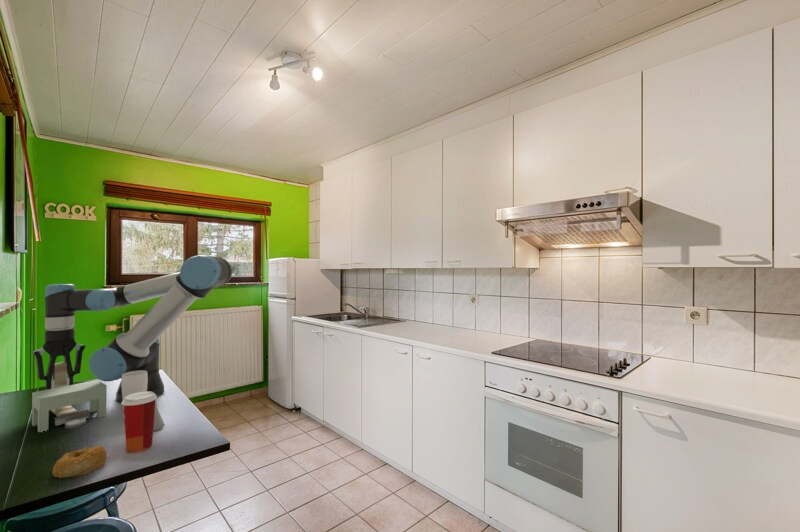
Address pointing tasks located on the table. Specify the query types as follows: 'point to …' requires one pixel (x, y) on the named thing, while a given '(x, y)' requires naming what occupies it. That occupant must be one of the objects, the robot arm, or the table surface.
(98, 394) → the white bridge stand
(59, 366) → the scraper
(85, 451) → the bagel
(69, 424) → the steel disc
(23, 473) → the table surface
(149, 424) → the paper cup
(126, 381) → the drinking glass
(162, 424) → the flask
